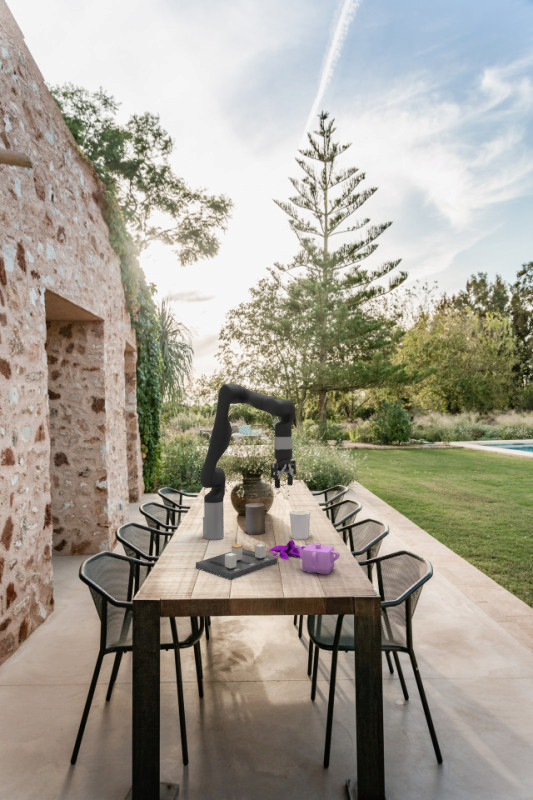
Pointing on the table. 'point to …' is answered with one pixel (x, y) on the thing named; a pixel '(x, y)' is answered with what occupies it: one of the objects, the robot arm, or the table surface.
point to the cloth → (287, 550)
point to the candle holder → (300, 524)
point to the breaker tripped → (237, 551)
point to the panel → (242, 566)
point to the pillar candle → (255, 518)
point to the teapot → (318, 558)
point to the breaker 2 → (260, 551)
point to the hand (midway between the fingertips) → (283, 486)
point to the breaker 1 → (230, 560)
